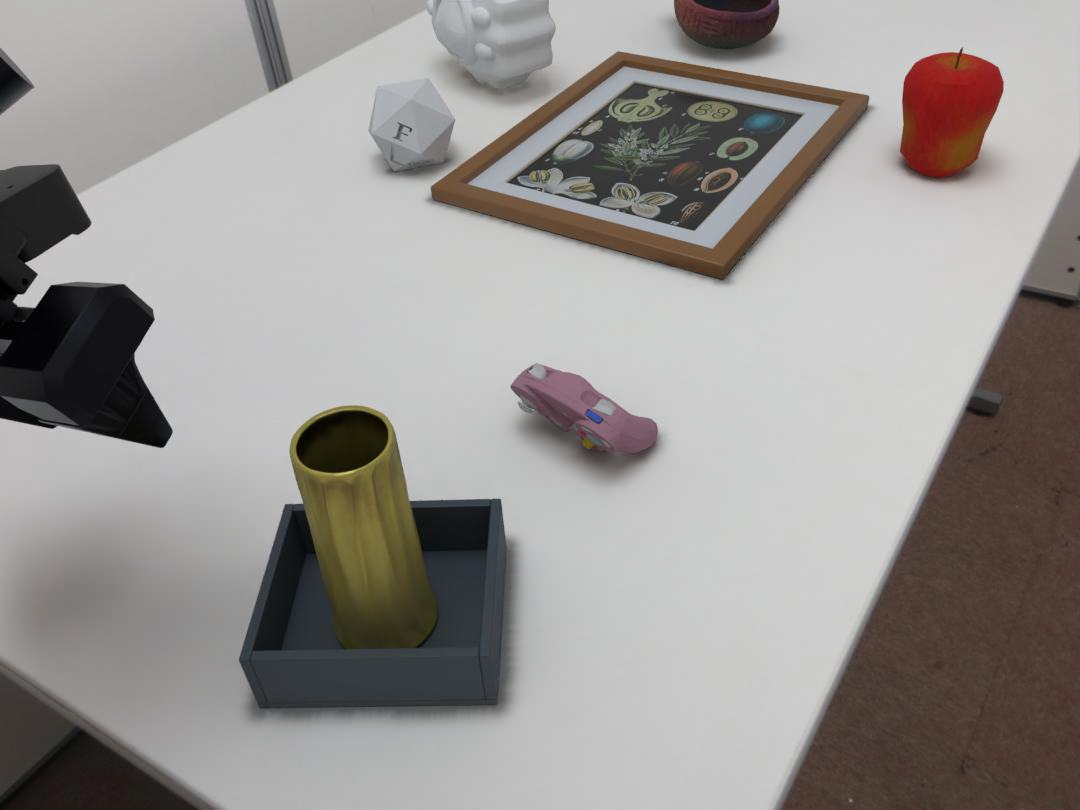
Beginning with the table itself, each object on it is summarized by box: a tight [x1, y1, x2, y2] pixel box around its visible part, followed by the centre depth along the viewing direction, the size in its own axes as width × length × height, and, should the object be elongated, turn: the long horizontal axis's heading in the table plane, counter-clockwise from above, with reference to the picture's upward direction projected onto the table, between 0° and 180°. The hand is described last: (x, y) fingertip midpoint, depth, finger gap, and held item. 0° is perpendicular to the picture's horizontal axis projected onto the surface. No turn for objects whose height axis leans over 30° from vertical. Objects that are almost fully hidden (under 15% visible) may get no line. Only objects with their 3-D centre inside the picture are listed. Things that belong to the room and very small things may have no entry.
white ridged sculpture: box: [426, 0, 557, 90], centre depth 113 cm, size 11×18×16 cm, turn 33°
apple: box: [899, 46, 1005, 179], centre depth 92 cm, size 9×8×12 cm
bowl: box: [673, 0, 781, 51], centre depth 121 cm, size 16×13×8 cm
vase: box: [289, 404, 438, 649], centre depth 53 cm, size 6×6×14 cm
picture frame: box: [430, 50, 870, 280], centre depth 101 cm, size 31×2×38 cm
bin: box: [238, 498, 508, 709], centre depth 56 cm, size 13×11×4 cm
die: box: [367, 77, 456, 173], centre depth 100 cm, size 8×9×10 cm
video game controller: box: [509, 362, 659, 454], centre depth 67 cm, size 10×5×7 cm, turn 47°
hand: (110, 430), depth 53 cm, fingers open, 9 cm apart
